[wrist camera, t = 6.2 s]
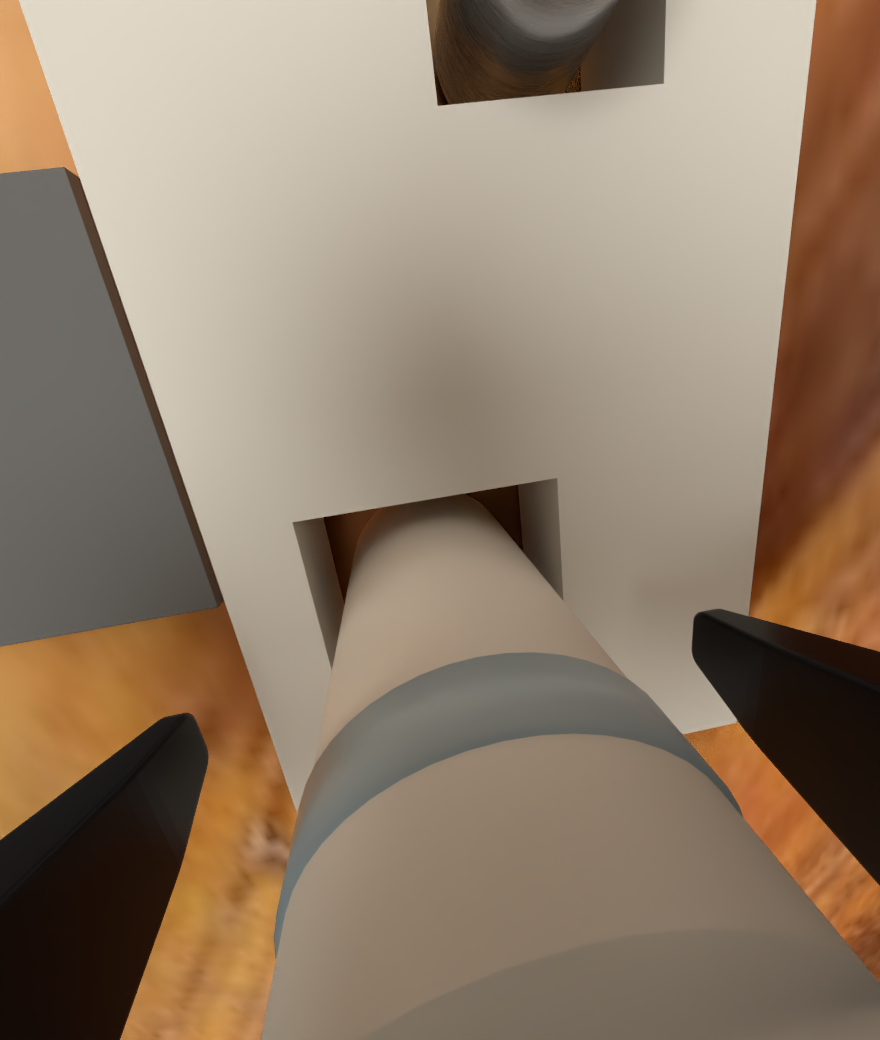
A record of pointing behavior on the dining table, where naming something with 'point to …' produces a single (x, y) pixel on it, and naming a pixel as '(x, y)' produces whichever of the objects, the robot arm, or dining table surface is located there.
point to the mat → (81, 436)
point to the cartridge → (525, 832)
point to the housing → (448, 300)
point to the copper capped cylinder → (514, 46)
